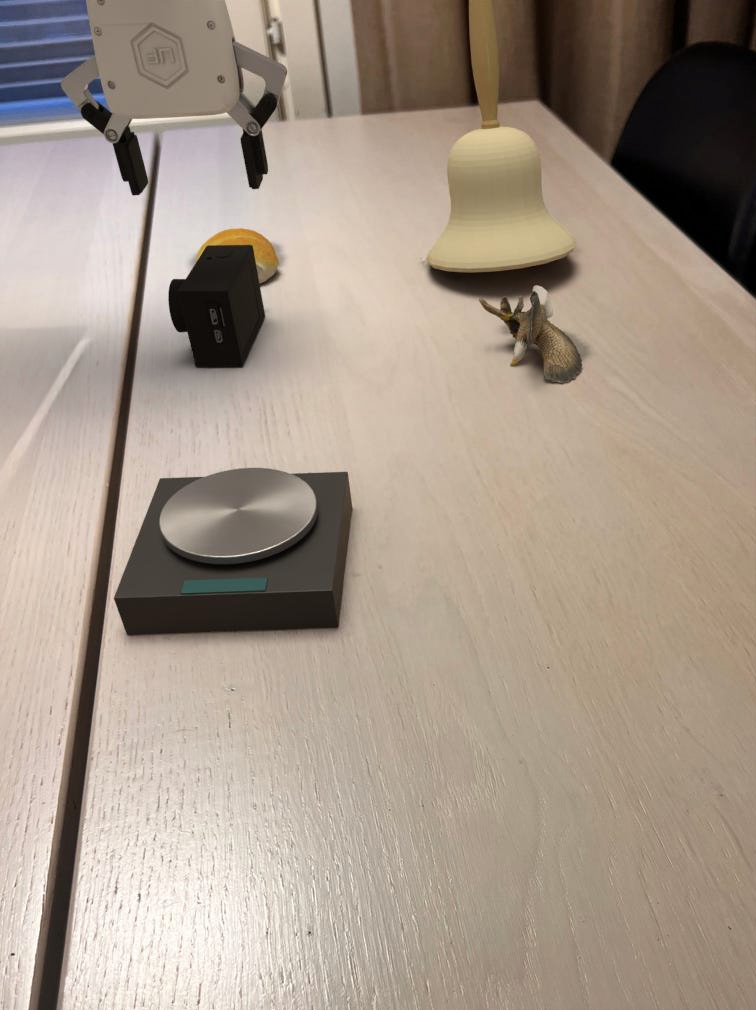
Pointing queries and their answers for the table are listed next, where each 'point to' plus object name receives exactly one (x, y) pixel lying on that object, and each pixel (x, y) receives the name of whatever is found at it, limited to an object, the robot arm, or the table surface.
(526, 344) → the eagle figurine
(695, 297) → the table surface
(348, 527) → the scale
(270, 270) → the bread roll
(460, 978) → the table surface
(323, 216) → the table surface
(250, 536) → the scale pan
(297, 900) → the table surface
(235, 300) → the digital camera
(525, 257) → the handbell
